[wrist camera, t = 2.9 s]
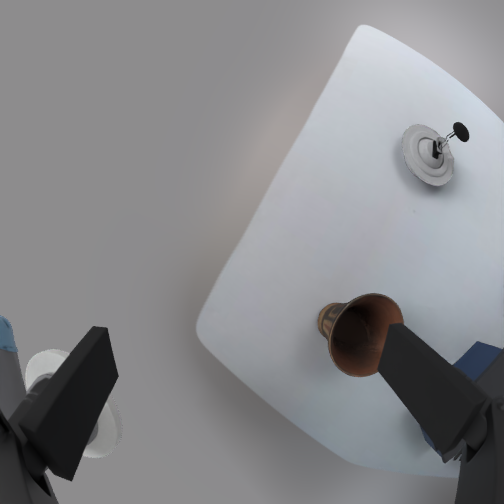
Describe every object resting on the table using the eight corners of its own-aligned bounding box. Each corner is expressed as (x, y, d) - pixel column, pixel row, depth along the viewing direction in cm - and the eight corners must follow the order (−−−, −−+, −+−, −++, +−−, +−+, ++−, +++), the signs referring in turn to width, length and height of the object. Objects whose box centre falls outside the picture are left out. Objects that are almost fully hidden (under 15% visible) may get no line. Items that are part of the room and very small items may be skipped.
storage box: (422, 443, 33) (442, 465, 25) (406, 401, 33) (431, 423, 25) (488, 384, 33) (513, 396, 25) (479, 337, 33) (508, 345, 25)
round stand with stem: (492, 180, 23) (488, 118, 23) (435, 142, 23) (434, 81, 23) (441, 200, 35) (445, 147, 35) (390, 175, 35) (397, 121, 36)
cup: (380, 335, 34) (416, 354, 24) (322, 362, 34) (343, 393, 24) (362, 276, 35) (397, 279, 25) (300, 302, 35) (317, 316, 25)
